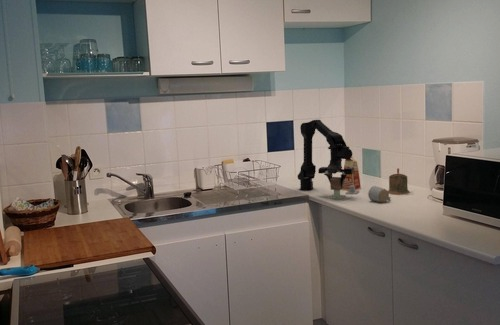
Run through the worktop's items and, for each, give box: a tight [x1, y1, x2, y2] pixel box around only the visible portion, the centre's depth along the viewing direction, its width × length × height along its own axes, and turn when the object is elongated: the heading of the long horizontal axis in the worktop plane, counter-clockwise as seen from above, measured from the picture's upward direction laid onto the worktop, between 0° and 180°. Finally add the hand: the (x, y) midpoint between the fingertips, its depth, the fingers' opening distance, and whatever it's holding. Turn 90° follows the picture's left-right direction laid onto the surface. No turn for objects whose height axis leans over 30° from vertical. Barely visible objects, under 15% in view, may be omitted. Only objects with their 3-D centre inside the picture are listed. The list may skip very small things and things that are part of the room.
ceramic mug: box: [367, 185, 391, 204], centre depth 264 cm, size 11×8×8 cm
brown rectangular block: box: [329, 176, 343, 191], centre depth 279 cm, size 5×5×6 cm
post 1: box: [328, 190, 346, 199], centre depth 279 cm, size 7×7×6 cm
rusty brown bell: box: [387, 167, 410, 196], centre depth 285 cm, size 12×18×12 cm, turn 164°
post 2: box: [345, 185, 360, 195], centre depth 287 cm, size 6×6×4 cm
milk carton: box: [340, 156, 362, 192], centre depth 297 cm, size 9×9×20 cm
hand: (336, 186), depth 279 cm, fingers closed on brown rectangular block, 5 cm apart
